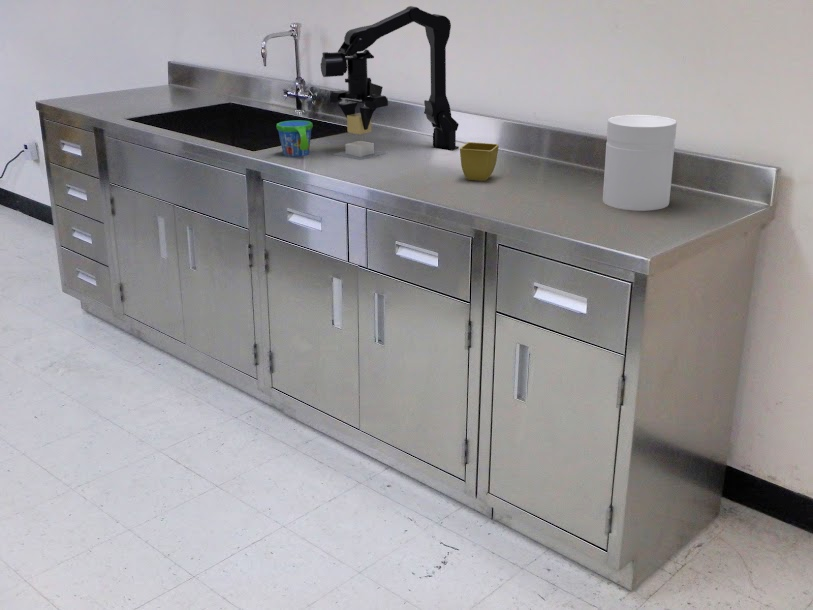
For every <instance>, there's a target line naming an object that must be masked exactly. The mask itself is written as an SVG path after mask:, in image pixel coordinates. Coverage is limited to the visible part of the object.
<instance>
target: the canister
mask: <svg viewBox="0 0 813 610" xmlns="http://www.w3.org/2000/svg"><path fill="white" fill-rule="evenodd" d="M677 124H678V122H677V120H676V119H674V118H671V117H667V116H662V115H655V114H654V115H653V114H623V115H622V114H621V115H616V116H612V117H609V118H608V119H607V129H606V131H607V132H606V145H605V146H606V147H605V158H604V159H605V160H604V175H603V177H604V178H603V189H602V203H603V204H605V205H606V206H609V207H611V208H615V209H619V210H624V211H637V212H639V211H640V212H643V211H644V212H645V211H646V212H647V211H657V210H662V209H664V208H665V209H666V208H667V207H668V206H669V204H670V200H671V199H670V196H671V188H672V187H671V186H672V176H673V168H674V167H673V166H674V156H675V147H676V145H675V141H676V134H677Z"/></svg>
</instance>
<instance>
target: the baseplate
mask: <svg viewBox="0 0 813 610" xmlns="http://www.w3.org/2000/svg"><path fill="white" fill-rule="evenodd" d="M386 154H387V152H385V151H380V150H375V149H374V153H373V154H369V155H365V156H361V157H359V156H354V155H349V154H346V150H344V151H339V152H334V153H332V154H331V155H333V156H338V157H341V158H342V157H343V158H348V159H352V160H359V161H364V160H366V159H370V158H374V157H379V156H383V155H386Z"/></svg>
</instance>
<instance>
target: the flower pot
mask: <svg viewBox="0 0 813 610" xmlns="http://www.w3.org/2000/svg"><path fill="white" fill-rule="evenodd" d="M499 146H500V145H499V144H497V143H486V142H475V141H474V142H469V141H468V142H466V143H465V144H464V145H462V146H461V147H459V155H460V165H461V169H462V172H463V175H464V177H465V178H466V180H468V181H476V182H477V181H479V182H486V181H487V180H488V179H490V177H491V175H492V174H493V173H494V170H495V168H496V164H497V160H498V154H499V148H500V147H499Z"/></svg>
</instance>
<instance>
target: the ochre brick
mask: <svg viewBox="0 0 813 610" xmlns="http://www.w3.org/2000/svg"><path fill="white" fill-rule="evenodd" d="M346 123H347V124H346V125H347V126H346V127H347V128H346V129H347V130H346V131H347V133H350V134H354V135H362V134H363V135H364V134H367V133H372V119H371V120H370V123H369V127H368V129H367V130H364V127H363V123H362V118H361V113H360V112H357V113H356V112H355V114H351V115H347V118H346Z"/></svg>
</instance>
